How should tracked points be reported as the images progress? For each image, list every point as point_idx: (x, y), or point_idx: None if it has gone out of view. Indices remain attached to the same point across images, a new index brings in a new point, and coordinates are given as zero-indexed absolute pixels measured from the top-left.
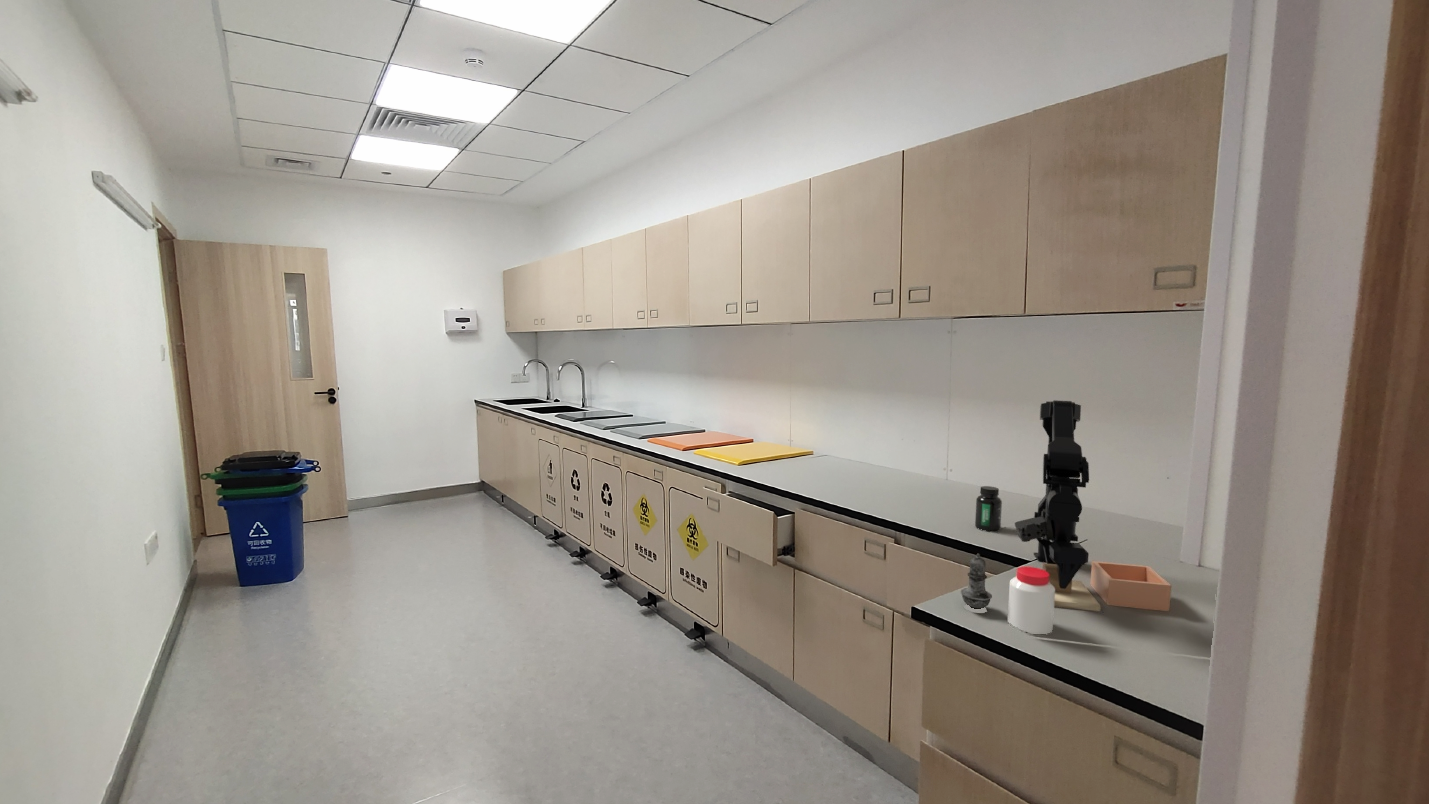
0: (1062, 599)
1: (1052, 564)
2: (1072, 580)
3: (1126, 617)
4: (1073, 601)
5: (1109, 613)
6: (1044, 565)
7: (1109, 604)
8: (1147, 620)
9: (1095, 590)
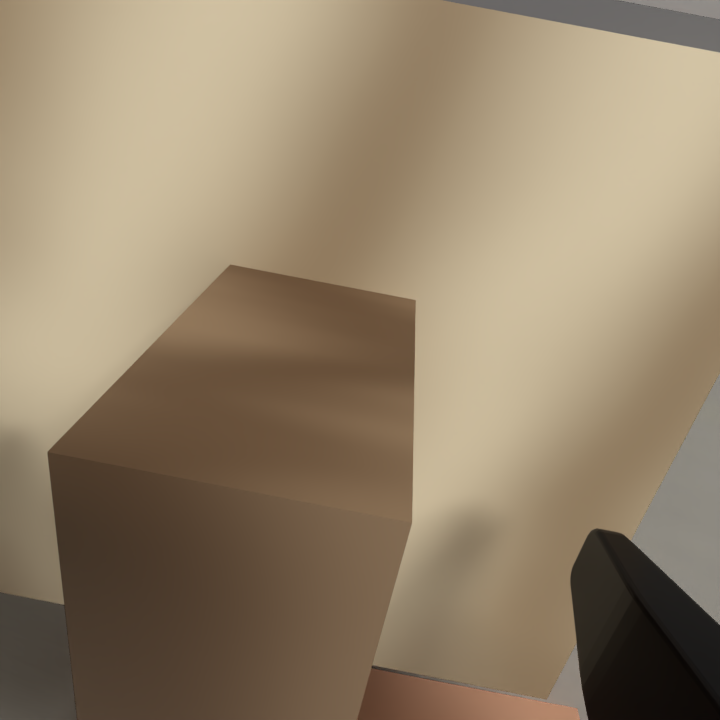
0: (11, 352)
1: (339, 658)
2: (568, 652)
3: (33, 646)
4: (3, 434)
5: None
6: (234, 490)
7: None
8: (33, 713)
9: (456, 699)
